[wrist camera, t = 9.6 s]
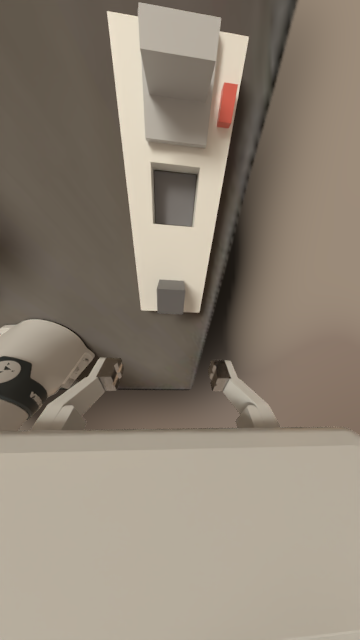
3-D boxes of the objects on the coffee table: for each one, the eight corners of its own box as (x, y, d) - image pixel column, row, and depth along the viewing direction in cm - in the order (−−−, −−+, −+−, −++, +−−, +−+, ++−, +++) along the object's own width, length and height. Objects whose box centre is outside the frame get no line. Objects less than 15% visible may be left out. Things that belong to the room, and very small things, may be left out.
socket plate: (197, 306, 27) (200, 314, 25) (143, 304, 27) (140, 312, 24) (237, 66, 13) (253, 24, 10) (118, 46, 12) (102, -5, 9)
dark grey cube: (182, 302, 24) (183, 314, 21) (159, 301, 24) (157, 313, 21) (183, 280, 22) (185, 290, 19) (159, 279, 22) (156, 288, 18)
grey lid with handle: (205, 148, 14) (215, 121, 10) (146, 141, 13) (136, 111, 10) (219, 27, 10) (240, -73, 7) (140, 13, 10) (121, -101, 6)
